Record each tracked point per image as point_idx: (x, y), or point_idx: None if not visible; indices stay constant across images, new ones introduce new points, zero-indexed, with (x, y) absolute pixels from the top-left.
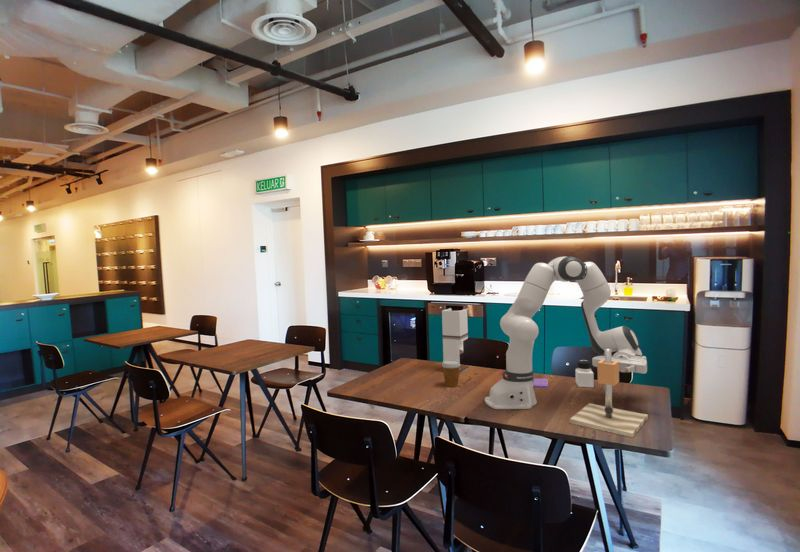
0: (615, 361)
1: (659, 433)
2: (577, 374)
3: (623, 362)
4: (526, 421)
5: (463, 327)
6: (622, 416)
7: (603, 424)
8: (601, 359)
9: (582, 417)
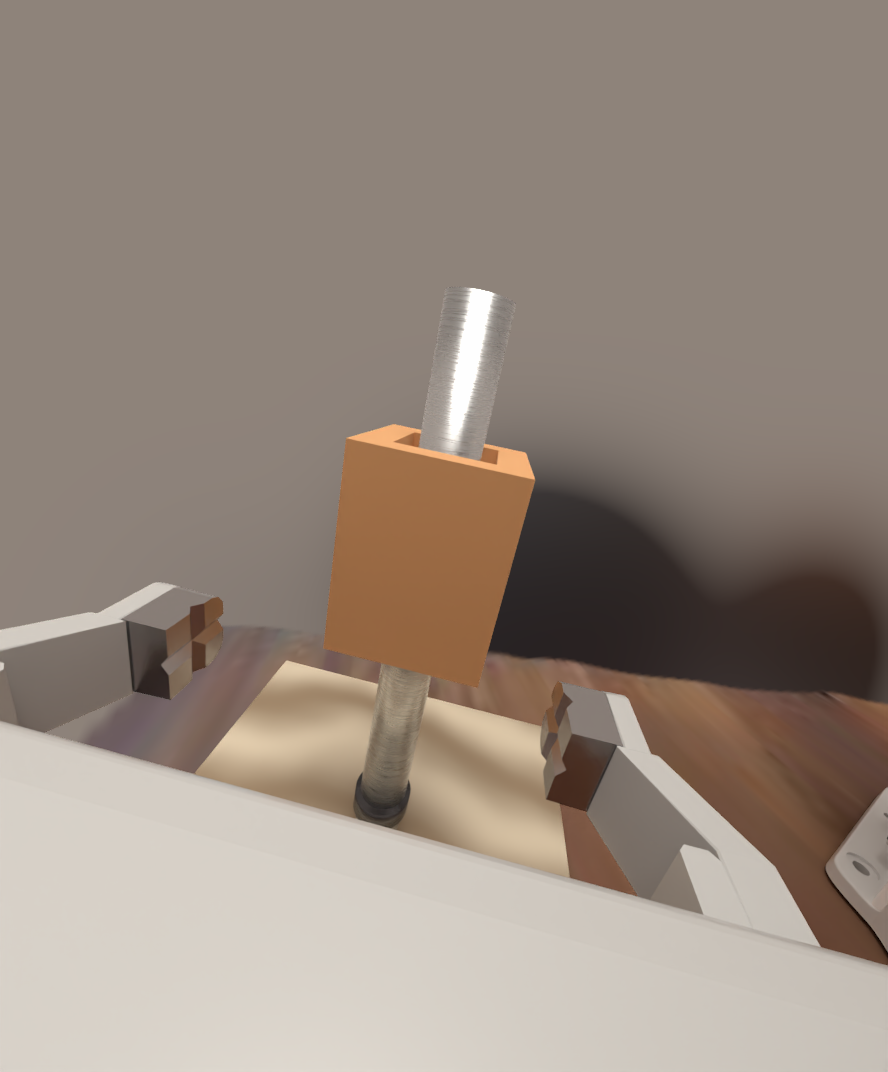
0: (383, 443)
1: (117, 745)
2: None
3: (98, 755)
4: (675, 711)
5: None
6: None
7: None
8: (846, 959)
9: (509, 766)
